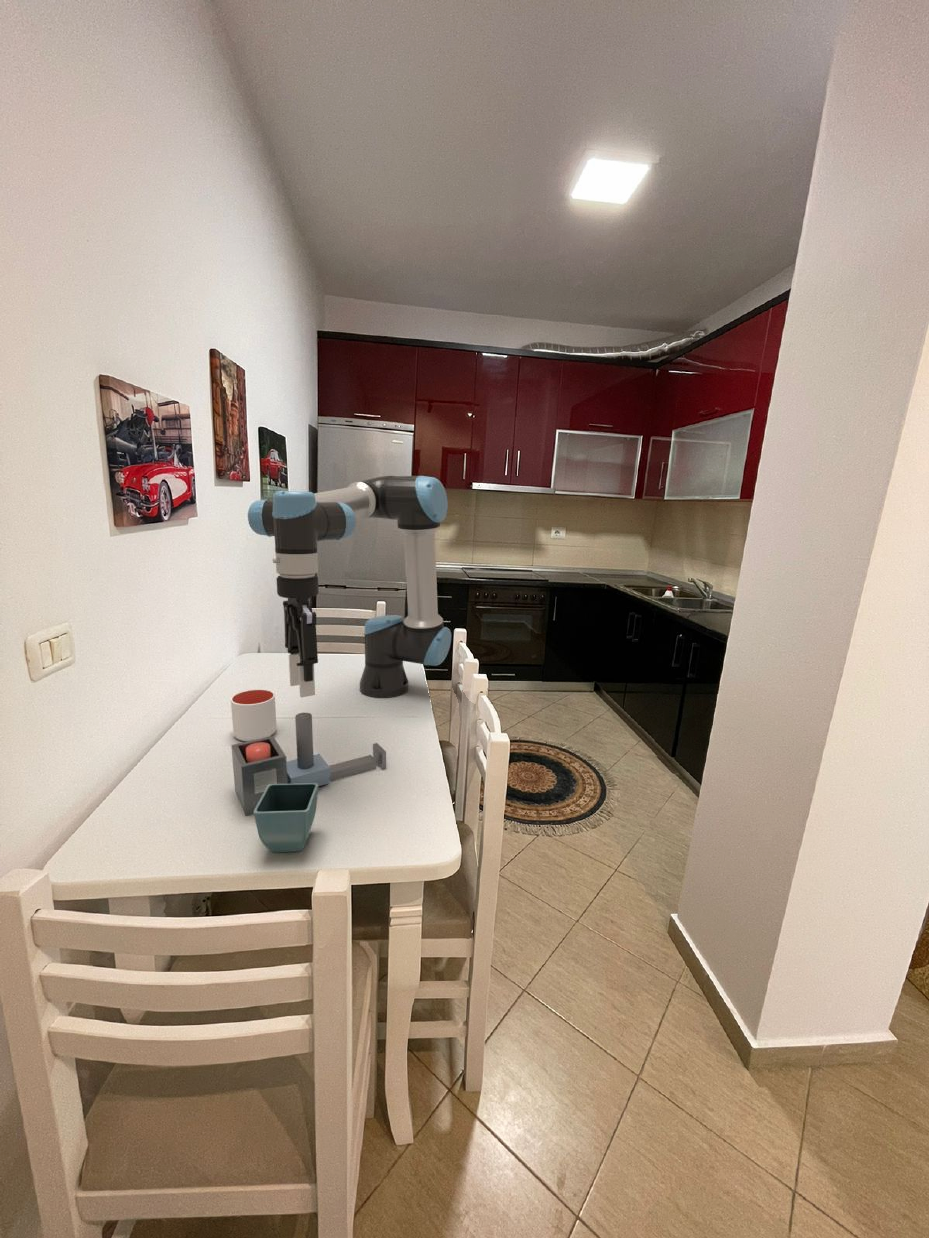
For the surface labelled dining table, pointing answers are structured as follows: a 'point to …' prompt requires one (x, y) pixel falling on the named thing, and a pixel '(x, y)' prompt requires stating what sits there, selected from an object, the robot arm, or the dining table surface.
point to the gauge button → (257, 752)
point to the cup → (253, 714)
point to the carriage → (306, 756)
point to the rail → (359, 764)
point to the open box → (257, 772)
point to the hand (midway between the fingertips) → (302, 689)
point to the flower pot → (286, 815)
